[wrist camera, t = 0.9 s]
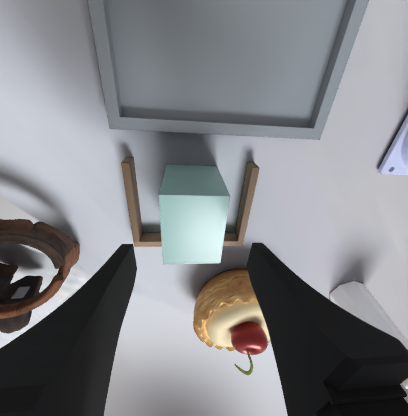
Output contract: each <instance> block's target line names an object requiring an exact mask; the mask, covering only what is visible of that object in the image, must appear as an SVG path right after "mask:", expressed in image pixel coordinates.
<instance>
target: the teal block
mask: <svg viewBox="0 0 408 416" xmlns="http://www.w3.org/2000/svg"><path fill="white" fill-rule="evenodd" d="M229 201H230V195H229V192H228V190H227V188H226V186H225V183H224V181H223V179H222V176H221V174H220V172H219V170H218V167H217V166H195V165H166V169H165V173H164V176H163V180H162V184H161V188H160V192H159V207H160V224H161V240H162V257H163V264H206V263H220V262H221V255H222V248H223V241H224V235H225V228H226V221H227V214H228V208H229Z"/></svg>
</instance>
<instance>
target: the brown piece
mask: <svg viewBox="0 0 408 416" xmlns="http://www.w3.org/2000/svg"><path fill="white" fill-rule="evenodd" d="M7 243H15V244H23V245H28V246H30V247H33V248H36V249H38V250H40V251H42V252H43V253H45V254H46V255H47V256H48V257H49V258H50V259H51V260H52V262H53V264H54V267H55V268H56V269H58V268H59V271H58V274H57V275H55V276H54V278H53V280H52V281H51V283H50V284H49V286H48V287H47V288H46V289H45V290H43V291H42V292H41V293H39V290H40V287H41V285H42V280H43V277H42V276H25V277H24V278H22V279H20V280H18V281H16V282H14V283H12V284H10V283H11V280H12V278H13V275H14V274H15V272H16V271H17V269H18V266H13V265H7V264H2V263H0V331H1V332H3V333H12V332H14V331H18V330H21V329H22V328H23V327H25V326H26V325H28V323H29V321H30V317H31V313H32V310H33V309H35V308H37V307H39V306H41V305H42V304H44V303H45V302H47V301H48V300H49V299H50V298H51V297H53V296H54V295H55V293H57V292H58V290H59V289H60V287H61V285H62V283H63V282H64V280H65V279H66V277H67V276H68V274H69V272H70V268H71V267H72V266H73V265H74V264H75V263H77V261H78V259H79V253H80V249H79V244H77V243H76V244H75V241H74V240H72V239H71V238H70V237H69V236H67V235H66V234H64V233H63V232H61V231H60V230H58V229H56V228H54V227H52V226H50V225H48V224H46V223H44V222H37V223H35V224H33V223H32V222H31V221H30V220H25V219H17V220H16V219H15V220H1V219H0V244H7Z"/></svg>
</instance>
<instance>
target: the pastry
mask: <svg viewBox="0 0 408 416" xmlns="http://www.w3.org/2000/svg"><path fill="white" fill-rule="evenodd" d="M193 323H194V324H193V325H194V330H195V333H196V334H197V336H198V338H199V339H200V340H201V341H202V342H205V343H206V344H207V345H208V346H209V347H212V346H215V347H216V348H217V349H219V350H221V349H222V348H223V347H225V348H226V349H228V350H229V351H234V349H236V350H237V351H239V352H241V353H243V354H248V357H249V360H250V363H251V367H250V370H249V371H244V370H242V369H241V368H240V367H238V366H237V365H236V364H235V366H236V367H237V368H238V369H239V370H240V371H241V372H243V373H244V374H246V375H250V374H251V373H252V371H253V364H252V360H251V357H250V355H256V354H260V353H262V352H263V351H265V350H266V348H267V345H268V343H269V342H270V336H269V333H268V329H267V325H266V322H265V319H264V317H263V314H262V311H261V309H260V306H259V303H258V301H257V298H256V295H255V293H254V290H253V287H252V285H251V282H250V278H249V274H248V270H247V269H235V270H229V271H226V272H223V273H220V274H218V275H216V276H215V277H213V278H212V279H210V280H209V281H208V282H207V283H206V284H205V286H204V287H203V288H202V290H201V291H200V293H199V295H198V298H197V301H196V304H195V308H194V321H193Z"/></svg>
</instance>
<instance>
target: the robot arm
mask: <svg viewBox="0 0 408 416" xmlns="http://www.w3.org/2000/svg"><path fill="white" fill-rule="evenodd" d="M379 173H382V174H396V175H408V115H407V117H406V119H405V121H404V123H403V125H402V126H401V128H400V130H399V132H398V134H397V136H396V137H395V139H394V141H393V143H392V145H391V147H390V149H389V150H388V152H387V154H386V156H385V158H384V160H383V162H382V163H381V165H380V167H379ZM247 270H248V274H249V278H250V282H251V285H252V287H253V290H254V293H255V295H256V298H257V301H258V303H259V306H260V309H261V311H262V314H263V317H264V319H265V322H266V325H267V329H268V333H269V336H270V340H271V344H272V347H273V351H274V355H275V359H276V363H277V368H278V372H279V376H280V381H281V385H282V390H283V395H284V399H285V404H286V409H287V414H288V416H408V403H407V402H406V400H405V399H404V398H403V397H406V396H407V394H406V392H405V391H404V389H403V388H402V387H401V385H400V384H401V383H402V382H403V381H405V380H406V379H408V350H407V349H406V347H405V346H404V345H403V344H402V343H401V342H400V340H399V339H397V338H395V337H393V336H391V335H389V334H387V333H386V332H384V331H382V330H380V329H378V328H376V327H374V326H372V325H370V324H368V323H366V322H365V321H363V320H361V319H359V318H358V317H356V316H354V315H352V314H351V313H349V312H348V311H346V310H344V309H343V308H341V307H339V306H338V305H336V304H335V303H333V302H332V301H330V300H329V299H327V298H326V297H324V296H323V295H322V294H320V293H319V292H317V291H316V290H315V289H313V288H312V287H311V286H309V285H308V284H307V283H306V282H304V281H303V280H302V279H301V278H299V277H298V276H297V275H296V274H295V273H294V272H292V271H291V270H290V269H289V268H288V267H287V266H286V265H285V264H284V263H283V262H281V261H280V260H279V259H278V258H277V257H276V256H275V255H274V254H273V253H272V252H271V251H270V250H269V249H268V248H267V247H266V246H265V245H264V244H263V243H252V247H251V251H250V255H249V259H248V263H247ZM136 271H137V266H136V260H135V254H134V247H133V244H122V245H121V246H120V247H119V248H118V249H117V250H116V251H115V253H114V254H113V255H112V256H111V257H110V258H109V259H108V261H107V262H106V263H105V264H104V265H103V266H102V267H101V268H100V269H99V270H98V271H97V272H96V273H95V274H94V275H93V276H92V277H91V278H90V279H89V280H88V281H87V282H86V283H85V284H84V285H83V286H82V287H81V288H80V289H79V290H78V291H77V292H76V293H75V294H73V295H72V296H71V297H70V298H69V299H68V300H67V301H65V302H64V303H63V304H62V305H61V306H59V307H58V308H57V309H56V310H54V311H53V312H52V313H50V314H49V315H48V316H46V317H45V318H44V319H43V320H41V321H40V322H39V323H37V324H36V325H34V326H33V327H32V328H30V329H29V330H27V331H26V332H24V333H23V334H22V335H20V336H19V337H17V338H16V339H14V340H13V341H11V342H10V343H8V344H7V345H5V346H4V347H2V348H0V416H104V410H105V403H106V398H107V393H108V387H109V382H110V376H111V371H112V366H113V361H114V356H115V351H116V347H117V341H118V337H119V333H120V329H121V326H122V322H123V319H124V316H125V313H126V309H127V306H128V303H129V299H130V297H131V293H132V290H133V287H134V282H135V277H136Z"/></svg>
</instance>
